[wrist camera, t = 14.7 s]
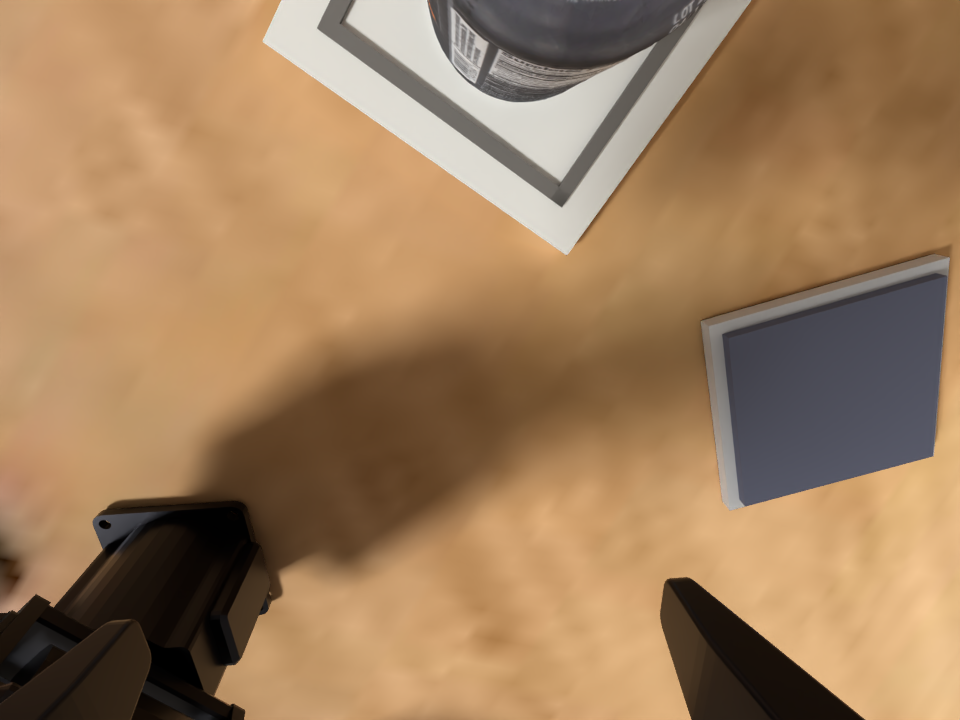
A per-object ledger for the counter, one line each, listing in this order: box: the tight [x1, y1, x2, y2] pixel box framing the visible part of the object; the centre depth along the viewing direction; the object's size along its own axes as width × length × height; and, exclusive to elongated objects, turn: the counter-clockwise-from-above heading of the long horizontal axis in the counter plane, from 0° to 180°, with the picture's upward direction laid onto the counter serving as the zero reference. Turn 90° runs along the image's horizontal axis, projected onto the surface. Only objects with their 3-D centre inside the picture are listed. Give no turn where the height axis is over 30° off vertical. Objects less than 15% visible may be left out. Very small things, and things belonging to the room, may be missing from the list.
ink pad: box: [701, 254, 950, 510], centre depth 22 cm, size 10×10×1 cm
